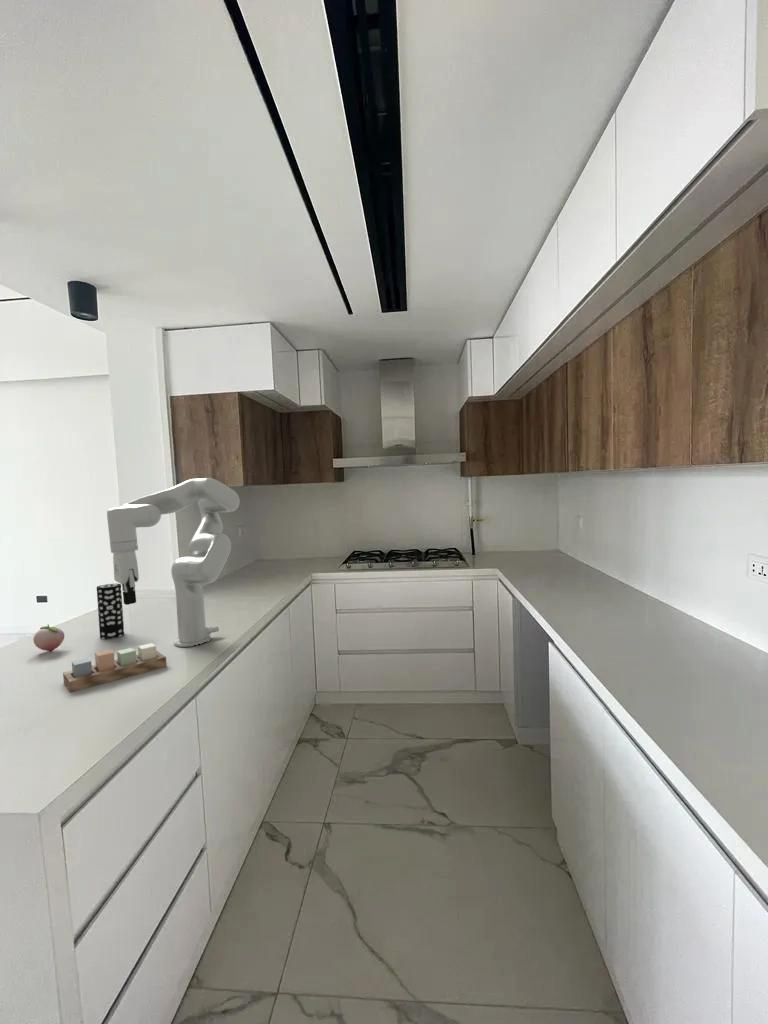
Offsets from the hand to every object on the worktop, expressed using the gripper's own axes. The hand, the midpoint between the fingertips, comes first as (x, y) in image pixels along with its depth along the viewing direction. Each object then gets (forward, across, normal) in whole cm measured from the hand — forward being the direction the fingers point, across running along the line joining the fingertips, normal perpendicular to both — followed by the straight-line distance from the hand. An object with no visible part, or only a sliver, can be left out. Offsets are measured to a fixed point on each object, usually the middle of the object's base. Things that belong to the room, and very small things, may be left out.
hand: (130, 603), depth 150 cm
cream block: (+19, +3, +3) cm, 20 cm away
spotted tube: (+22, -44, +3) cm, 49 cm away
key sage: (+19, +3, -3) cm, 19 cm away
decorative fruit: (+21, -40, -18) cm, 49 cm away
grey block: (+19, +3, -15) cm, 24 cm away
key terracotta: (+18, +3, -9) cm, 20 cm away
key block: (+20, +3, -6) cm, 21 cm away
